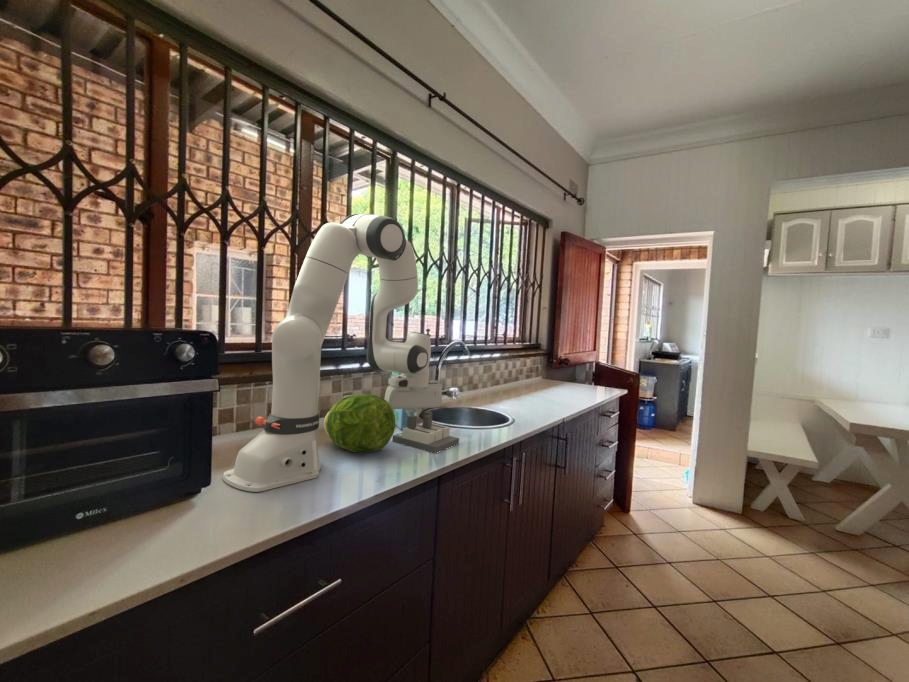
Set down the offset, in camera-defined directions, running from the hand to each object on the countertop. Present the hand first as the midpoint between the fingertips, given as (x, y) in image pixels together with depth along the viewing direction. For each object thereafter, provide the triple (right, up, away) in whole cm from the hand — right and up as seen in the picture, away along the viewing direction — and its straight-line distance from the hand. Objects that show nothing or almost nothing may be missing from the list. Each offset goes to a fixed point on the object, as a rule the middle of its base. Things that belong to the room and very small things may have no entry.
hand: (412, 421), depth 137 cm
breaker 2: (+5, -1, +2) cm, 5 cm away
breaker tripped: (+5, -1, -3) cm, 6 cm away
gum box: (-7, -5, +19) cm, 21 cm away
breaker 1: (0, -1, -5) cm, 5 cm away
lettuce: (-16, -6, -15) cm, 23 cm away
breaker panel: (+5, -7, -3) cm, 9 cm away
